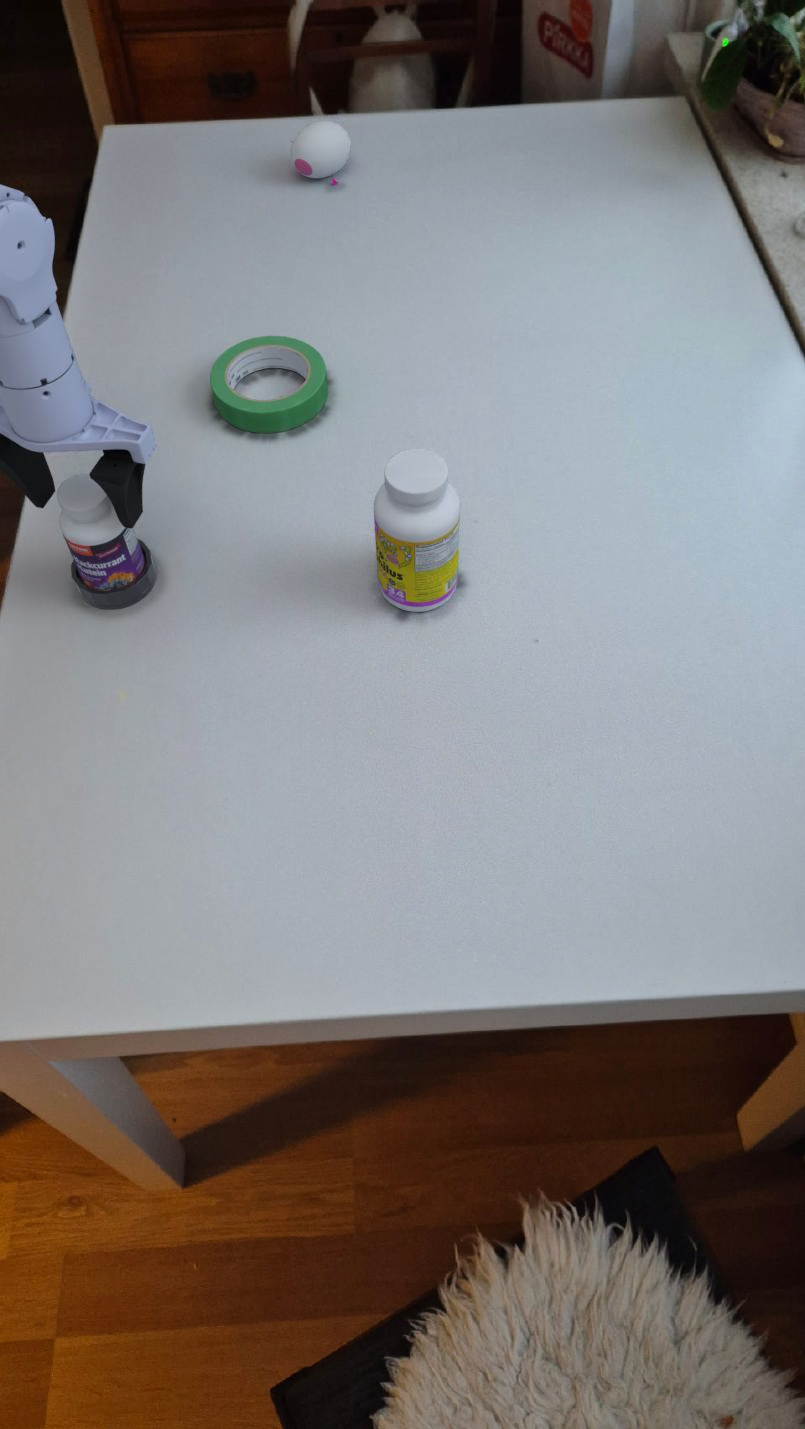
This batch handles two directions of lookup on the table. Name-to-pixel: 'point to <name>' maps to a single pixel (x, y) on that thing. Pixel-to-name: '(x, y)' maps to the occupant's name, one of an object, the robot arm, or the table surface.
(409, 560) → the supplement bottle
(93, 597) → the round open container
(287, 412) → the tape roll
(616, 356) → the table surface
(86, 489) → the pill bottle
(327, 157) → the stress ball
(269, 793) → the table surface
